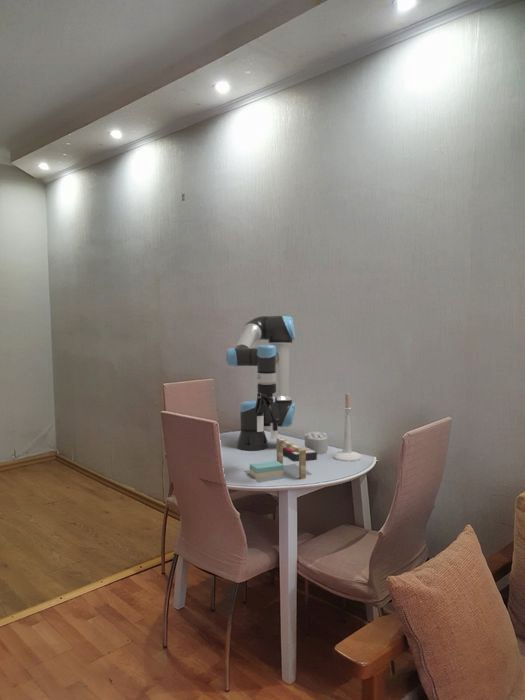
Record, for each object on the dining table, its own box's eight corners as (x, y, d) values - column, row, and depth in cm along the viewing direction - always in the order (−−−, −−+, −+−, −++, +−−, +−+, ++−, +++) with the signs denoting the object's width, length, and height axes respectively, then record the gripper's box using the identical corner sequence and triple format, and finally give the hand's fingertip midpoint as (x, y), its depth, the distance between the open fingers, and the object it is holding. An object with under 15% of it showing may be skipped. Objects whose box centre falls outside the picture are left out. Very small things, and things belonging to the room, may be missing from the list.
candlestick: (333, 461, 234) (333, 394, 232) (333, 453, 247) (333, 390, 245) (362, 461, 233) (362, 395, 231) (360, 454, 245) (361, 390, 243)
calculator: (302, 444, 251) (317, 450, 237) (302, 453, 251) (317, 460, 237) (281, 446, 247) (294, 453, 233) (281, 455, 247) (295, 462, 233)
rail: (276, 464, 230) (276, 438, 229) (280, 464, 230) (280, 437, 230) (301, 480, 209) (301, 450, 208) (305, 479, 209) (305, 450, 208)
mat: (243, 471, 220) (243, 471, 220) (294, 464, 229) (294, 463, 229) (258, 483, 205) (258, 482, 205) (312, 475, 215) (312, 474, 215)
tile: (249, 473, 216) (249, 464, 216) (276, 469, 221) (276, 460, 220) (256, 478, 209) (256, 468, 209) (283, 474, 214) (283, 465, 214)
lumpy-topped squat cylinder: (323, 446, 259) (323, 429, 258) (331, 454, 246) (331, 435, 246) (302, 448, 257) (302, 430, 257) (309, 455, 245) (309, 436, 244)
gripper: (246, 380, 222) (246, 429, 224) (271, 387, 199) (271, 442, 201) (262, 379, 225) (263, 427, 227) (288, 386, 202) (289, 440, 204)
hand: (267, 434), depth 214 cm, fingers open, 13 cm apart
